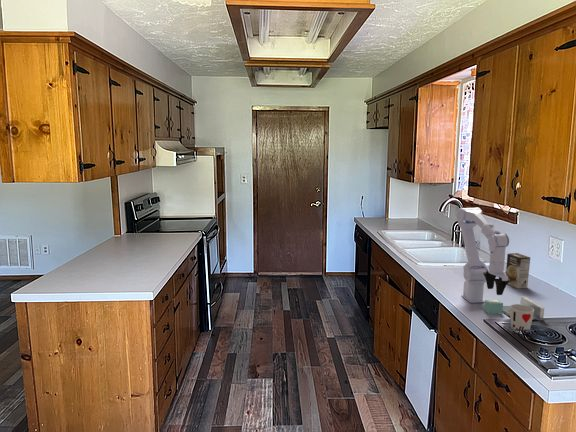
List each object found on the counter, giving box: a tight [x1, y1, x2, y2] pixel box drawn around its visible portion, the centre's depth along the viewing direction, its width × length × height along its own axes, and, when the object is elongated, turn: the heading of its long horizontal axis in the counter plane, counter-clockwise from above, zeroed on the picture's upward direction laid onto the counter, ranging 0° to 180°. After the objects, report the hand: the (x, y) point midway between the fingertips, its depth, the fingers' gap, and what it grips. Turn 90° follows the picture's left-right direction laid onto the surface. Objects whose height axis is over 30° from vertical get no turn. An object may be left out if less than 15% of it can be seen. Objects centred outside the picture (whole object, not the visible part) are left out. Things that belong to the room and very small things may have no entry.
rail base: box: [502, 295, 545, 320], centre depth 184 cm, size 14×12×6 cm
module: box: [483, 299, 504, 315], centre depth 187 cm, size 4×6×5 cm, turn 93°
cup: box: [509, 303, 534, 332], centre depth 167 cm, size 8×8×10 cm
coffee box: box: [505, 252, 531, 289], centre depth 220 cm, size 9×6×16 cm
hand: (494, 291), depth 185 cm, fingers open, 7 cm apart
